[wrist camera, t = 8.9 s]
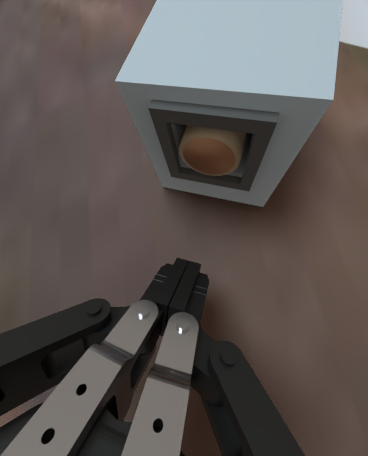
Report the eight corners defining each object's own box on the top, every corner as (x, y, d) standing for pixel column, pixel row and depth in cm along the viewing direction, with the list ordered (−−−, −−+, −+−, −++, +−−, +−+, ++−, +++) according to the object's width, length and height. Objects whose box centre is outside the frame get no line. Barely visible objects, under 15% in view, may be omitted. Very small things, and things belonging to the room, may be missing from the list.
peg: (235, 181, 14) (245, 139, 10) (182, 171, 15) (173, 130, 11) (263, 64, 17) (279, -1, 13) (219, 62, 18) (221, 0, 14)
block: (262, 212, 17) (332, 111, 7) (160, 192, 19) (110, 89, 9) (284, 95, 21) (349, -75, 11) (197, 87, 23) (189, -62, 13)
